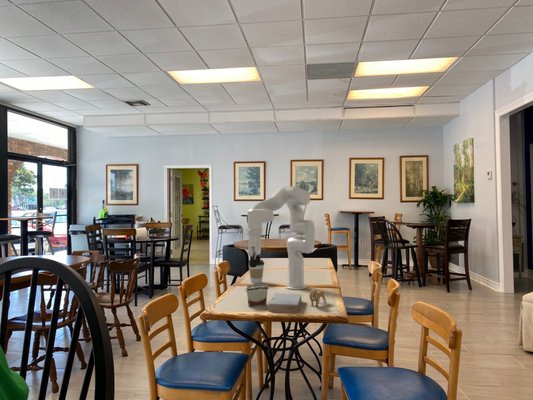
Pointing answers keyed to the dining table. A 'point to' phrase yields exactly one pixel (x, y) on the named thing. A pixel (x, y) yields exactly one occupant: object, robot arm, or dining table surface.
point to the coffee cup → (256, 272)
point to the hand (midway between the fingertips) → (255, 265)
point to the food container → (257, 294)
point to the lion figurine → (316, 296)
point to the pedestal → (285, 303)
